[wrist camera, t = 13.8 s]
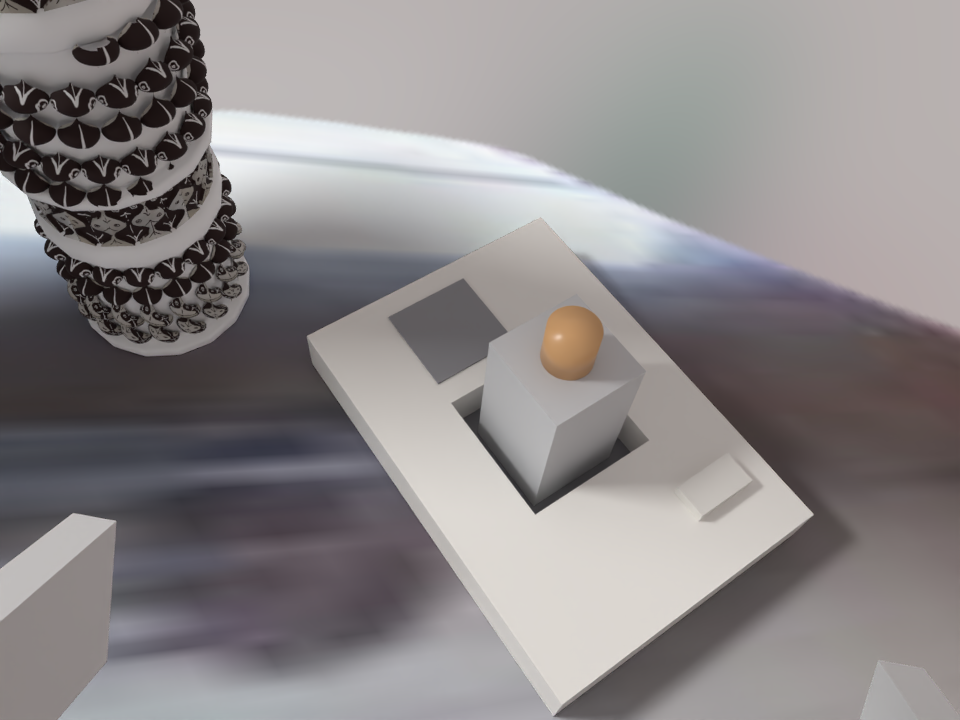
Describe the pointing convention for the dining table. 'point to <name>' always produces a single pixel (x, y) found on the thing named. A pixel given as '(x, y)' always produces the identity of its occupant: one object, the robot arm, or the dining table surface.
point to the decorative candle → (123, 166)
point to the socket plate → (578, 505)
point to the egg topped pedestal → (556, 397)
